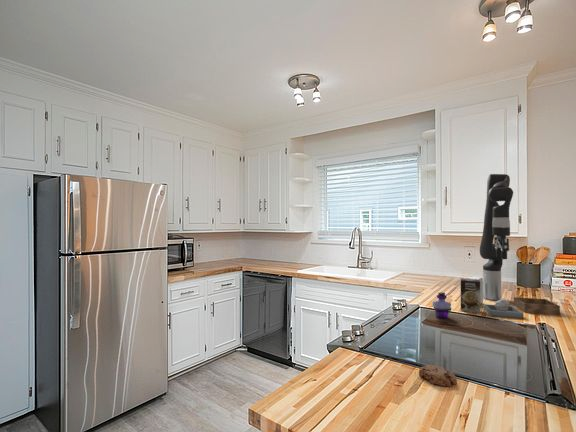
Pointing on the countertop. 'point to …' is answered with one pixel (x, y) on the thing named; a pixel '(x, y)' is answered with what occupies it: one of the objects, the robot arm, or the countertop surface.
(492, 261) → the robot arm
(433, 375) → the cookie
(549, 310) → the walnut frame
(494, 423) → the countertop surface
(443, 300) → the potion bottle
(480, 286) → the skincare box
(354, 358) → the countertop surface
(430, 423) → the countertop surface
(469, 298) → the coffee box
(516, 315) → the charcoal tray
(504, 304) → the frog figurine
